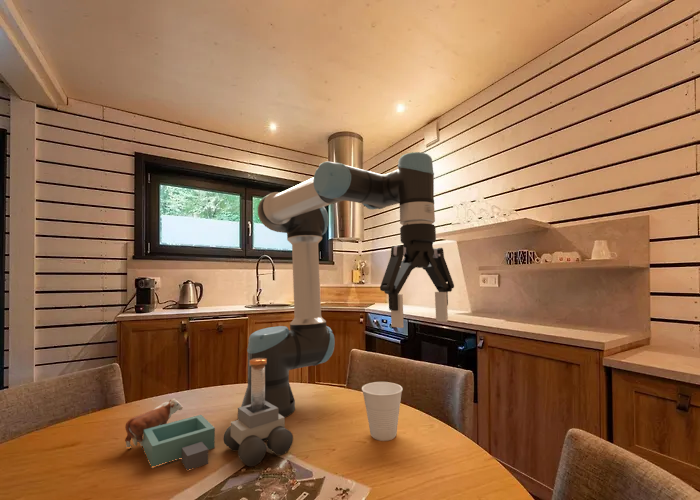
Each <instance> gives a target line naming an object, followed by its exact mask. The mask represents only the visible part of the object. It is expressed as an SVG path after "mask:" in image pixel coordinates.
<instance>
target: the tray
mask: <svg viewBox="0 0 700 500" xmlns="http://www.w3.org/2000/svg"><path fill="white" fill-rule="evenodd" d="M215 432H216V428H215V426H213V424H212V423H210V422H209V421H208V419H206V418H205V417H204V416H203V415H202V414H198V415H195V416H194V415H193V416H190V417H186V418H183V419H179V420H175V421H170V422H167V424H163V425H159V426H156V427H152V428H148V429H144V430H143V448H144V451H145V453H146V455H147V458H148V460H149V462H150V464H151V467H152V466H156V465H159V464H162V463H165V462H169V461H172V460H175V459H179V458H182V448H183V447H186V446H190V445H193V444H196V443H199V442H203V444H204V445H205V446H206V447H207V448H208V451H210V450H211V449H215V448H216V447H215V443H216V442H215V440H216V433H215ZM143 448H142V449H143ZM144 451H143V452H144ZM145 453H144V454H145ZM147 458H146V459H147ZM148 460H147V461H148ZM179 460H180V459H179ZM149 462H148V463H149ZM150 464H149V465H150ZM151 467H150V468H151Z"/></svg>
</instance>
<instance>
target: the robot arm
mask: <svg viewBox="0 0 700 500" xmlns="http://www.w3.org/2000/svg"><path fill="white" fill-rule="evenodd" d="M397 161H398V162H397V163H398V164H397V168H398V169H396V170H393V171H391V172H388V173H386V174H383V173H382V174H381V173H377V172H373V171H370V170H365V169H361V168H358V167H354V166H350V165H346V164H343V163H341V162H333V161H323V162H322V163H319V165H318V168H316V169H315V173H314V175H313V177H311V178H309V179H307V180H305V181H303V182H300V183H299V184H296V185H295V186H292V187H290V188H288V189H285V190H283V191H281V192H280V191H279V192H278V191H274V192H270V193H268V194H267V195H266V196H263V197H262V199H261V200H259V201H260V202H259V203H258V206H257V215H258V219H259V221H260V222H261V223H262V225H264V227H265V228H267V229H269V230H270V231H273V232H277V233H284V234H286V235H287V239H286V240H287V241H288V242H289V243H290V244H291V251H292V255H291V256H292V280H293V284H292V285H293V287H292V288H293V310H294V313H293V315H294V318H293V319H292V321H290V323H289V327H287V326H285V325H278V326H271V327H266V328H265V327H264V328H261V329H258V330H255V331H254V332H252V333H251V334H249V337H248V344H247V349H246V351H247V387H246V390H245V393H244V396H243V399H242V403H241V405H240V407H243V406H246V405H250V404H251V366H250V360H251V359H255V358H266V359H267V364H266V365H265V401H267V402H269V403H270V404H272V405H274V406H276V407H277V408H278V414H280V415H282V416H283V417H285V418H286V417H289V416H290V415H292V414H293V413H294V411H296V399H295V397H294V394H293V391H292V387H291V385H290V380H289V379H290V375H289V373H290V371H292V370H295V369H301V368H305V367H311V366H318V365H320V364H323V363H326V362H327V361H329V360H330V358H331V357H332V355H333V353H334V351H335V335H334V333H333V330H332V329H331V327H329V326H327V320H326V319H324V318H323V317H322V305H321V304H322V303H321V285H320V284H321V283H320V282H321V281H320V280H321V279H320V260H319V259H320V258H319V243H320V242H321V241H322V240H323V236H324V234H326V232H327V230H328V227H329V223H330V222H329V220H330V219H329V214H328V211H327V209H326V207H327V206H330V205H332V204H333V205H334V204H337V203H341V202H352V203H357V204H361V205H363V206H364V207H365V208H366V209H368V210H377V209H378V210H381V209H384V208H387V207H391V206H394V205H398V204H399V224H400V225H401V227H400V228H399V231H400V232H399V233H400V234H399V235H400V243H401V244H399V245H392V246H391V249H390V258H389V261H388V263H387V267H386V269H385V272H384V275H383V278H382V280H381V284H380V287H379V289H380V291H381V292H384V294H386V295H388V310H389V311H390V319H391V320H390V321H391V325H390V326H391V327H392V328H398V329H399V328H400V329H404V327H405V326H404V298H403V297H404V296H403V294H402V293H401V294H400V292H401V290H402V288H403V287H404V285H405V283H406V281H407V280H408V278H409V276H410V275H411V272H412V271H413V270H414V269H416V268H417V269H420V268H421V269H423V270H424V271H426V274H427V275H428V277H429V279H430V280H431V282H432V283H433V285H434V287H435V288H436V290H437V291H434V301H435V303H434V305H435V321H437V322H441V323H442V322H444V323H447V322H449V319H448V318H449V316H448V315H449V314H448V305H449V295H448V294H449V293H451V292H452V291H453V289H454V288H455V283H454V281H453V278H452V274H451V273H450V269H449V267H448V264H447V261H446V259H445V254H444V253H445V252H444V248H443V247H436V248H435V247H433V244H434V243H435V242H436V241H437V237H436V234H437V233H436V232H437V231H436V225H435V224H434V223H435V221H436V218H435V199H434V197H435V196H434V194H435V193H434V191H435V189H434V188H435V183H434V181H435V180H434V178H435V172H434V167H433V166H434V165H433V158H432V156H431V155H430V154H428V153H426V152H423V151H422V152H420V151H415V152H408V153H405V154H403V155H401V157H399V158H398V160H397ZM448 292H449V293H448Z"/></svg>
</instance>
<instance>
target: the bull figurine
mask: <svg viewBox="0 0 700 500" xmlns="http://www.w3.org/2000/svg"><path fill="white" fill-rule="evenodd" d="M183 407H184V406H183V405H182V404H181V403H180V402H179V401H178V400H176V398H172V399H169V401H164V402H162V403H161V404H159V406H158V405H157V406H156V407H154V408H153V409H151V410H150V411H147V412H144V413H141V414H139V415H136V416H134V417H131V418H130V419H129V420H128V421H126V424H125V426H124V427H125V431H126V437H125V438H124V441H125V445H126V446H125V448H126V447H130V446H132V445H131V440H132V443H133V445H134V446H138V444H140V447H141V446H143V430H144V429H148V428H152V427H156V426H159V425H163V424H167V423H168V422H169V419H170V418H171V417H172V415H174V414H175V413H176V412H177V411H181V410H183Z"/></svg>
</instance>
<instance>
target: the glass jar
mask: <svg viewBox="0 0 700 500" xmlns="http://www.w3.org/2000/svg"><path fill="white" fill-rule="evenodd" d="M266 364H267V359H266V358H255V359H251V360H250V366H251V412H252V413H255V412H259V411H262V410H265V365H266Z"/></svg>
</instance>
